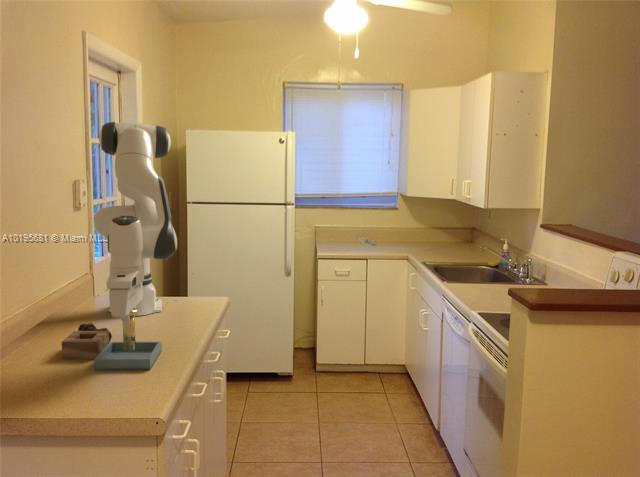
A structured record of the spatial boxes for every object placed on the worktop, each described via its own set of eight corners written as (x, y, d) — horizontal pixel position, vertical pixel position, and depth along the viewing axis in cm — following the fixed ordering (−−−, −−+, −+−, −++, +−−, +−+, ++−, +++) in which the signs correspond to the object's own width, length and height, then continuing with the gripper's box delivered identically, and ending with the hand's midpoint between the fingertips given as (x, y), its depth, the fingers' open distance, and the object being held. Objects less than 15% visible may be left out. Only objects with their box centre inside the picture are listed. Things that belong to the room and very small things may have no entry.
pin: (123, 346, 163) (121, 307, 161) (140, 346, 163) (139, 307, 162) (118, 351, 158) (117, 312, 157) (136, 351, 159) (135, 312, 157)
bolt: (85, 339, 185) (106, 349, 174) (71, 334, 181) (91, 344, 171) (93, 322, 186) (114, 331, 176) (79, 317, 183) (100, 326, 172)
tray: (111, 351, 168) (110, 341, 168) (161, 351, 169) (161, 341, 169) (94, 370, 154) (94, 359, 153) (150, 369, 155) (150, 359, 154)
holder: (75, 347, 171) (74, 331, 171) (109, 346, 172) (108, 330, 171) (62, 358, 162) (61, 341, 161) (98, 358, 162) (98, 341, 162)
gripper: (125, 268, 168) (127, 314, 170) (104, 283, 148) (106, 335, 150) (147, 268, 168) (149, 314, 170) (129, 283, 148) (131, 335, 150)
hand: (128, 324), depth 160 cm, fingers closed on pin, 3 cm apart
